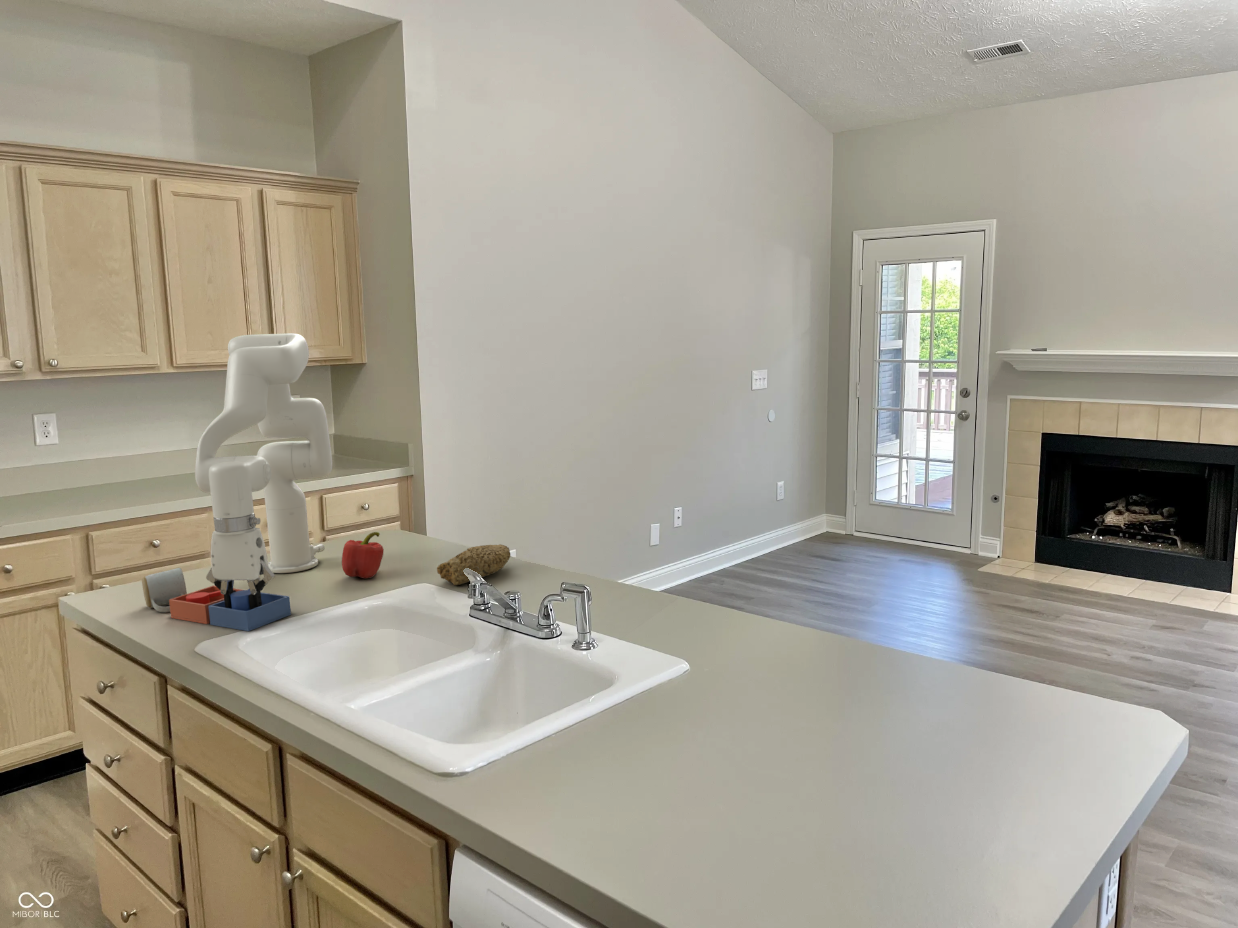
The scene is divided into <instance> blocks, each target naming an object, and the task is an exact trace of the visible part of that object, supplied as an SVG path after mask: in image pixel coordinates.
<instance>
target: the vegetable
mask: <svg viewBox="0 0 1238 928" xmlns="http://www.w3.org/2000/svg"><path fill="white" fill-rule="evenodd" d="M380 535H381V534H380V532H378V531H373V532H370V533H369V534H367V535H366V537H365V538H364V539H363V540H354V539H350V540H347V541H346V542H345V543H344V545H343V549H342V555H341V568H342V571H343V573H344V574H345V576H348V577H350V578H354V577H359V578H360V579H370V578H373V577H374V576H375V575H377V573H378V572H379V569H380V568H381V563H382V560H383V557H384V552H385V551H384V547H383V545H382V544H381V543H379V542H377V541H376V542H375V541H372V542H371V541H370V540H371V539H372V538H373V537H375V536H376V537H377V538H378V537H380Z"/></svg>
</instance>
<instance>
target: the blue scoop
mask: <svg viewBox="0 0 1238 928" xmlns="http://www.w3.org/2000/svg"><path fill="white" fill-rule="evenodd" d="M250 594H251V592H250V589H249V588H248V589H242V591H237V592H234V593H232V594H231V595H230V596H231V605H232V609H237V610H243V611H248V610H250V607H249V597H248V596H249V595H250Z"/></svg>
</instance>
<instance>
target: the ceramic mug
mask: <svg viewBox="0 0 1238 928" xmlns="http://www.w3.org/2000/svg"><path fill="white" fill-rule="evenodd" d="M185 580H186V579H185V576H184V573H183V570H182V568H181V567H176V568H173V569H167V570H164V571H160V572H156V573H150V574H148V575H146V576H144V577H142V578H141V586H142V592H143V596H144V601H145V605H146V606H147V607H148V608H151V609H153V608H154V610H155V611H156V612H159V613H171V612H170V603H169V600H170V599H173V598H176V597H179V596H182V595H185V594H188V591H187V585H186V581H185Z"/></svg>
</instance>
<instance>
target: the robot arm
mask: <svg viewBox="0 0 1238 928" xmlns="http://www.w3.org/2000/svg"><path fill="white" fill-rule="evenodd" d="M227 353H228V355H229V356H228V359H227V367H226V377H225V390H224V399H223V400H224V402H223V410H222V411H221V412H220V414H218V415H217V416H216V417H215V418H214V419H213V420H212V421H211V422H210V423H209V425H208V426H207V427H206V428H205V430H204V431H203V433H202V434H201V436H200V437H199V440H198V443H197V447H196V456H195V465H194V477H195V478H194V479H195V483H196V486H197V488H198V489H199V490H200V491H201V492H203V493H205V494H208V495H209V494H210V498H211V499H210V500H211V509H212V517H213V528H214V531H212V534H211V541H210V565H211V567H210V569H209V570H208V572H207V574H206V576H205V579H206V580H207V581H208V582H210V583H211V584H213V585H214V586H216V587H217V588H218V589H219V590H220V592H221V594H223V595H224V601H225V608H230V609H232V605H231V596H230V595H231V594H232V593H234V592H236V590H233V588H234V587H235V586H234V585H235V581H246V582H247V583H246V584H247V585H248V589H250V592H251V594H250V595H249V596H248V597H249V607H250V610H251V609H254V608H257V607H259V606H262V600H261V592H262V591H263V590H264V588H265V587H266V585H268V583H270V582H271V581H273V580H274V579H275V578H276V574H289V573H290V574H291V573H298V572H303V571H306V570H310V569H313V568H315V567H316V566H318V565H319V559H318V558H317V557H316V556H315V555H317V553H321V552H324V551H325V545H324V544H323V543H319V544H316V545H313V544H311V541H310V532H309V530H310V529H309V521H308V520H309V518H308V509H307V498H306V495H305V493H304V491H303V490H302V489H301V487H300V486H299V485H298V484H297V483H296V482H295V481H298V480H314V479H323V478H326V477H328V476H329V475H330V474H331V473H332V470H333V454H332V453H333V452H332V446H331V440H330V439H331V437H330V431H329V424H328V423H329V422H328V418H327V411H326V409H325V407H324V404H323V403H322V402H321V400H319V399H318V398H314V397H298V398H295V397H293V395H292V394H291V387H290V385H291V384H294V383H295V382H297V381H298V380H299V379H300V377H301V375H302V373H303V372H304V370H305V369H306V367H307V366H308V362H309V359H310V358H309V357H310V348H309V344H308V342H307V339H306V338H305V337H304V336H302V335H301V334H298V333H270V334H269V333H265V334H264V333H261V334H259V333H258V334H244V335H243V334H242V335H239V336H238V335H237V336H235V337H232V338H231V339H230V340H229V341H228V344H227ZM256 425H257V427H258V430H259V433H260V434H261V436H262V437H264V438H267V439H294V438H295V439H296V438H306V440H289V441H285V440H284V441H274V442H270V443H266V444H264V445H262V446H261V447H260V448H259V449H258V451H257V452H256V455H254V454H253V455H230V456H229V455H228V456H216V454H217V452H218V450H219V448H220V447H221V446H222V445H223V444H224V443H225V442H226V441H228V440H229V439H230V438H231V437H233V436H235V435H238V434H239V433H241V432H243V431H246V430H248V429H250V428H252V427H254V426H256ZM262 490H263V497H264V503H265V504H264V505H265V515H266V525H267V526H266V527H267V536H268V544H269V555H270V556H269V557H270V561H269V559H268V552H267V548H266V544H265V540H264V536H263V534H262V531H261V528H260V527H256V526H257V525H260V524H261V518H260V517H256V514H255V509H254V500H253V493H254V492H255V493H256V492H260V491H262ZM262 575H263V577H262V579H261V577H260V576H262Z"/></svg>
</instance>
